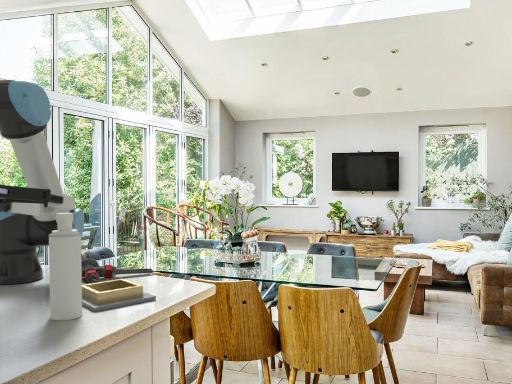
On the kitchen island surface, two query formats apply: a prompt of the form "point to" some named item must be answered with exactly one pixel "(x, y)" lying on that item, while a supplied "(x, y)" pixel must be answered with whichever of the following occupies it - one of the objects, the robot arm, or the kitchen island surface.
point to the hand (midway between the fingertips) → (55, 206)
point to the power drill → (105, 271)
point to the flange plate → (113, 294)
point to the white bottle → (65, 270)
